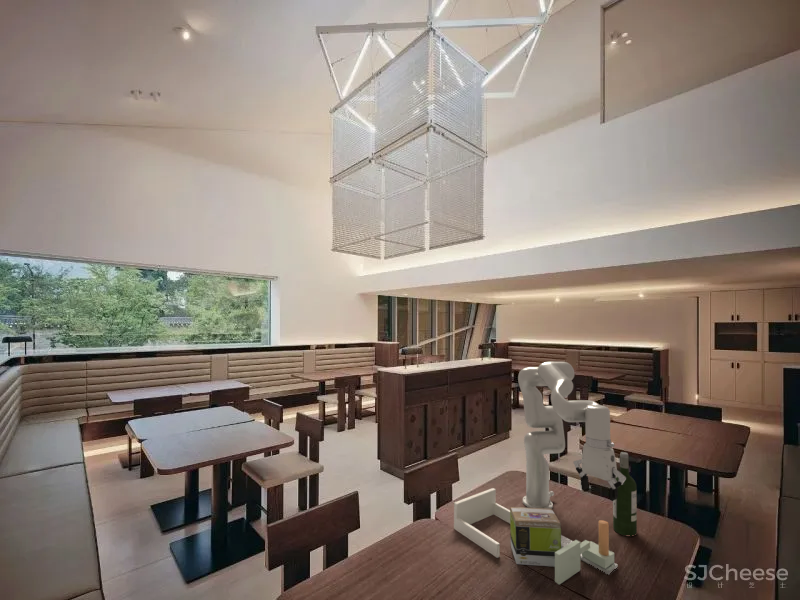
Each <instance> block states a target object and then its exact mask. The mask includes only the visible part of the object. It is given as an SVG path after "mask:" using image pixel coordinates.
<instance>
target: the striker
mask: <svg viewBox="0 0 800 600" xmlns="http://www.w3.org/2000/svg"><path fill="white" fill-rule="evenodd" d="M609 524H610V523H609V522H608V521H606V520H603V519H602V520H601V519H600V520H598V544H597V543H595V542H594V541H589V540H587V539H584V540H583V541H582V542H581V541H580V540H578V539H575V540H572V541H573V542H571V543H570V544H568V545H566V546H565V547H563V548H561V549H560V550H558V551H556V552H555V567H554V582H555V583H556V584H557V585H559V586H560V585H561V584H563V583H564V582H565V581H567V580H569V579H570V578H571V577H573V576H574V575H575V574H577V573H578V572H580V571H581V560H580V554H582V556H583V557H584V558H586V559H588V560H590V561H592V562H594V563H595V564H597V565H599V566H601V567H603V568H604V569H606V568H607V567H609V566H610V565H611V564H613V563H615V552H613V551H612V550H610V547H609V546H610V544H609V543H610V542H609V541H610V539H609V538H610V535H609V534H610V532H609V529H610V527H609V526H610V525H609Z"/></svg>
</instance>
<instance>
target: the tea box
mask: <svg viewBox="0 0 800 600" xmlns="http://www.w3.org/2000/svg"><path fill="white" fill-rule="evenodd" d="M509 510H510V523H509V524H510V529H509V530H510V531H509V532H510V534H509V535H510V536H509V537H510V547H511V548H510V549H511V552H512V554H513V557H514V561H515V563H516V565H525V566H526V565H527V566H539V567H553V568H555V552H556V551H558V550H560V549H561V535H562V529H561V528H562V524H561V523H562V522H560V520H559V519H558V517H557V515H556V513H555V512H554V511H553V508H552V509H546V508H529V507H524V506H523V507H522V506H519V507H518V506H510V507H509Z"/></svg>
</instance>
